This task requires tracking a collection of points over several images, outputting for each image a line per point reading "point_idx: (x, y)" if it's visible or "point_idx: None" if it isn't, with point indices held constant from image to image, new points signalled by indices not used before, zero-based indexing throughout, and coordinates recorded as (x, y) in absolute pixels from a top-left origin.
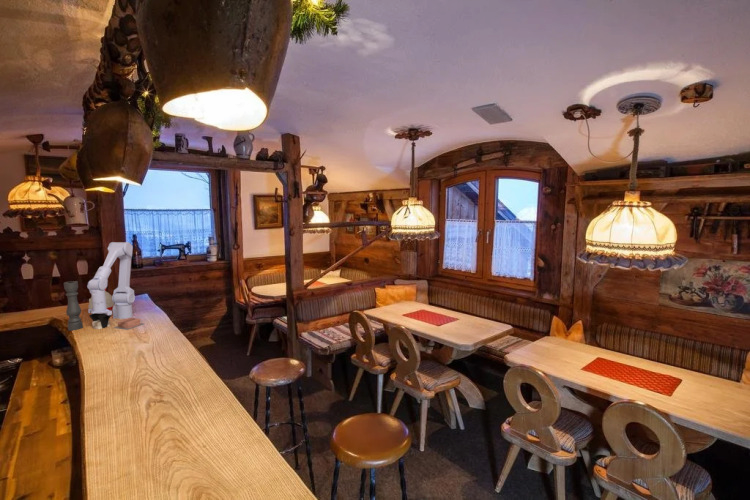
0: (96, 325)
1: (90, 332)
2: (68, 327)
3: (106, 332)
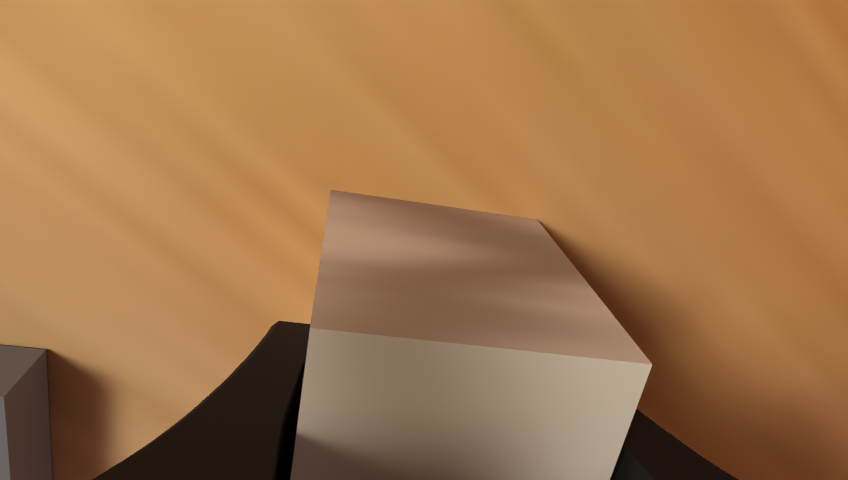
0: (405, 278)
1: (542, 138)
2: None
3: (90, 206)
